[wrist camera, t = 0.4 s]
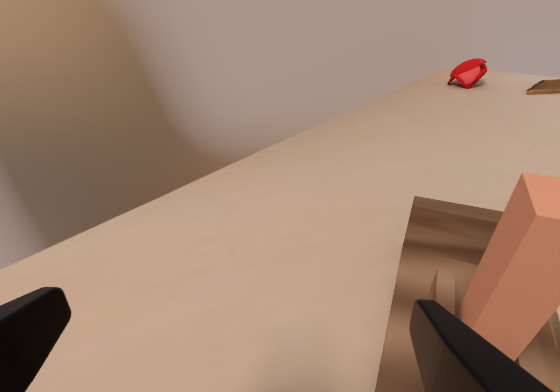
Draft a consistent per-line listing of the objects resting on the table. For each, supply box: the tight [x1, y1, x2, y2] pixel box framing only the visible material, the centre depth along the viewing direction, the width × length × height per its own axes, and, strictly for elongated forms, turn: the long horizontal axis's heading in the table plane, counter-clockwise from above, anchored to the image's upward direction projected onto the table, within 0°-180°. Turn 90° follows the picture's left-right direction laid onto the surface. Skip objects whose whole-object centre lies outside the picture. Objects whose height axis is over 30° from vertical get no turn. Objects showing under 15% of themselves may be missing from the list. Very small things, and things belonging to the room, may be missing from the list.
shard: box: [527, 79, 560, 95], centre depth 64 cm, size 11×8×2 cm
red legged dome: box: [448, 59, 487, 88], centre depth 69 cm, size 8×6×6 cm
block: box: [455, 173, 560, 361], centre depth 16 cm, size 4×2×13 cm
